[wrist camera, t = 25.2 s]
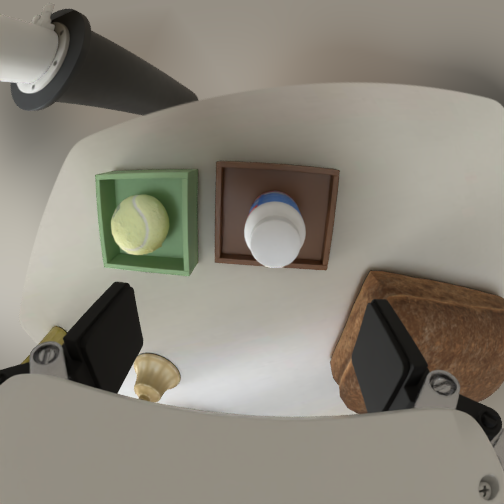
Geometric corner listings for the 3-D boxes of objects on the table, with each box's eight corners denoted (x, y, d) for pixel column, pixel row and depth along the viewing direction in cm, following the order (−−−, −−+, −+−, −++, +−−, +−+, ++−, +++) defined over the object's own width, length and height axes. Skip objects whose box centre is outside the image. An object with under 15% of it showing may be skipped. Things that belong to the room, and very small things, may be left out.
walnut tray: (219, 160, 29) (216, 161, 28) (335, 169, 29) (339, 170, 27) (217, 256, 33) (214, 262, 32) (324, 263, 33) (326, 270, 31)
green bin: (112, 171, 30) (95, 174, 27) (197, 169, 30) (187, 172, 26) (118, 255, 34) (104, 267, 31) (198, 262, 34) (189, 276, 30)
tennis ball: (152, 178, 30) (124, 186, 24) (189, 220, 32) (170, 238, 25) (120, 214, 32) (90, 229, 26) (154, 253, 33) (131, 276, 27)
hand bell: (179, 393, 43) (153, 467, 28) (135, 378, 43) (100, 447, 28) (182, 362, 40) (151, 445, 25) (133, 346, 40) (89, 420, 25)
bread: (360, 259, 32) (402, 319, 20) (502, 291, 32) (546, 331, 20) (320, 363, 38) (332, 435, 26) (460, 368, 38) (488, 415, 26)
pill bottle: (250, 188, 30) (241, 206, 21) (300, 191, 30) (314, 211, 20) (248, 236, 32) (239, 273, 23) (296, 240, 32) (305, 277, 22)
